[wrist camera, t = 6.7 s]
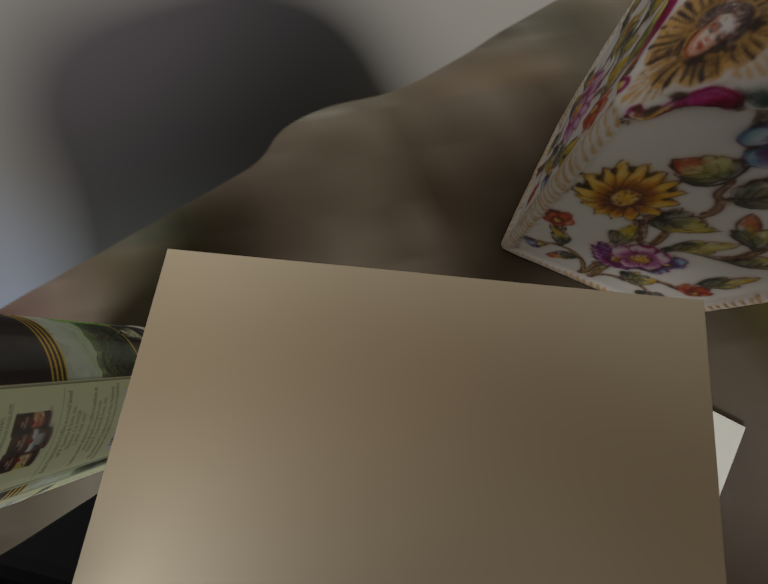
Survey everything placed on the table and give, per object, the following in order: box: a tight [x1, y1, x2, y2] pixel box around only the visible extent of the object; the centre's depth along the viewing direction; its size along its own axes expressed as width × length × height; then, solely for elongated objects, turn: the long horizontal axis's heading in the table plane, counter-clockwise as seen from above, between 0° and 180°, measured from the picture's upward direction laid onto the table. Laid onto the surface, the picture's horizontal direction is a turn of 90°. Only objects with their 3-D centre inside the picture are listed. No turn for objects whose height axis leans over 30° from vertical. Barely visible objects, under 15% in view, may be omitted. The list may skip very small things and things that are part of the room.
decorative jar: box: [501, 0, 768, 312], centre depth 13 cm, size 12×12×18 cm
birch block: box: [72, 249, 727, 584], centre depth 8 cm, size 5×5×12 cm
